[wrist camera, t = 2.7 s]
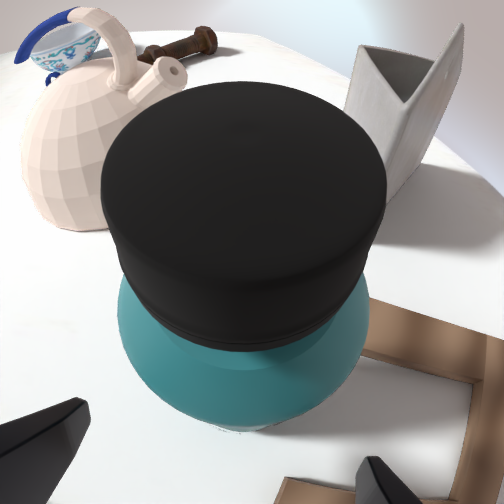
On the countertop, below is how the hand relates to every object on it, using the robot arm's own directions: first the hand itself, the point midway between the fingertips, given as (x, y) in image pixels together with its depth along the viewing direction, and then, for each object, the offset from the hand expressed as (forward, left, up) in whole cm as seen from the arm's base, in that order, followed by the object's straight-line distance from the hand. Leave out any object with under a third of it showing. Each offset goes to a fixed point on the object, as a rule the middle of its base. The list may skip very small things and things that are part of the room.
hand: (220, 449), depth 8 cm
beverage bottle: (+3, -2, -12) cm, 13 cm away
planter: (+16, -22, -12) cm, 30 cm away
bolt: (+51, -12, -13) cm, 54 cm away
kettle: (+30, +1, -12) cm, 33 cm away
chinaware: (+65, +5, -12) cm, 66 cm away
